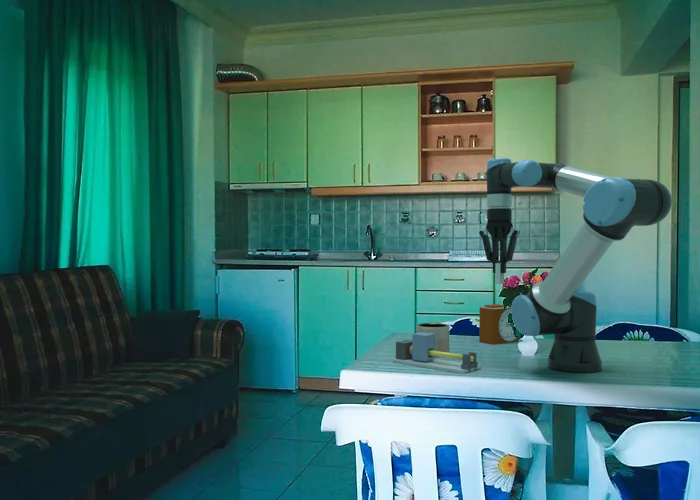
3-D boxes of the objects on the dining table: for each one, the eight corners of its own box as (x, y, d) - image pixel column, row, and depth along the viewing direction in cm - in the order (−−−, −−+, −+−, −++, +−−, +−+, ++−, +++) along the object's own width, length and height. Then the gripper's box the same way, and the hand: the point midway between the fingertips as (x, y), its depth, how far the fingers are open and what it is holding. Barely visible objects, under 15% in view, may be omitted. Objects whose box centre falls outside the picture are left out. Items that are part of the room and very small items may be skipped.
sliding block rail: (481, 368, 194) (481, 347, 194) (463, 373, 186) (463, 352, 186) (410, 357, 210) (410, 338, 210) (391, 362, 203) (392, 342, 202)
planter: (448, 357, 210) (448, 327, 210) (414, 356, 212) (414, 326, 212) (450, 351, 221) (450, 323, 221) (417, 350, 223) (418, 322, 223)
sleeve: (435, 359, 201) (435, 333, 201) (426, 361, 197) (426, 335, 197) (421, 357, 205) (421, 332, 204) (412, 359, 201) (412, 334, 200)
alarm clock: (493, 345, 234) (494, 307, 234) (476, 341, 241) (477, 304, 241) (522, 341, 242) (523, 304, 242) (505, 338, 249) (505, 302, 249)
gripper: (523, 208, 204) (524, 283, 204) (485, 209, 212) (485, 282, 212) (514, 207, 198) (514, 285, 198) (474, 208, 206) (475, 283, 206)
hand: (499, 283), depth 205 cm, fingers closed
